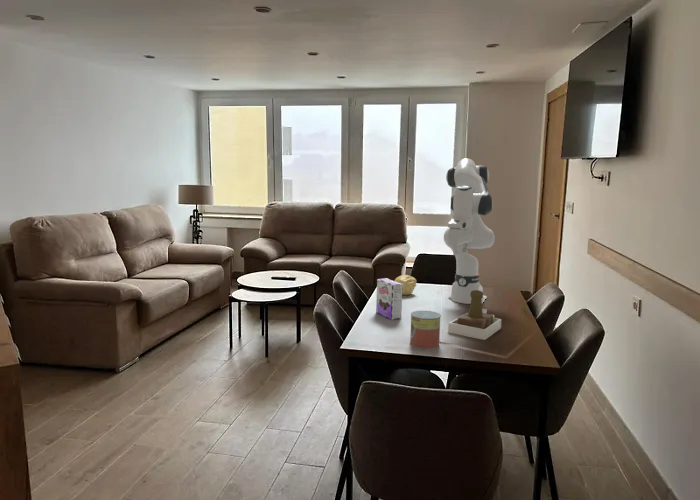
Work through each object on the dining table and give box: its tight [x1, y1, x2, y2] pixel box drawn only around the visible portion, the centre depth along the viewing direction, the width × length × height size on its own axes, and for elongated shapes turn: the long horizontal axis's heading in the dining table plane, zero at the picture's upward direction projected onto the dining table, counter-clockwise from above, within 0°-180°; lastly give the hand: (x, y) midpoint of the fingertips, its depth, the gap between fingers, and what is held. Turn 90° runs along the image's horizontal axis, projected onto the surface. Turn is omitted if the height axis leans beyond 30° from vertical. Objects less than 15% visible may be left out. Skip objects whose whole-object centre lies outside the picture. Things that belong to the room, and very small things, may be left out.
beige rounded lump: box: [394, 274, 417, 296], centre depth 276 cm, size 12×12×11 cm
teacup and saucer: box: [482, 308, 496, 318], centre depth 234 cm, size 9×8×4 cm
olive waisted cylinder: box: [468, 290, 484, 318], centre depth 208 cm, size 6×6×11 cm
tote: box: [447, 312, 502, 341], centre depth 210 cm, size 20×16×5 cm
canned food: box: [409, 310, 442, 351], centre depth 193 cm, size 11×11×12 cm
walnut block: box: [457, 311, 494, 329], centre depth 210 cm, size 14×10×6 cm
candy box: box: [375, 277, 403, 321], centre depth 232 cm, size 14×6×16 cm, turn 27°
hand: (460, 253), depth 225 cm, fingers open, 8 cm apart
